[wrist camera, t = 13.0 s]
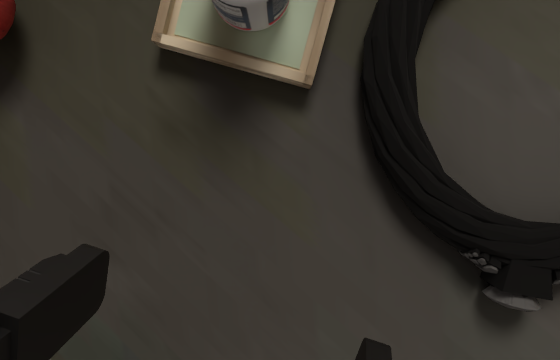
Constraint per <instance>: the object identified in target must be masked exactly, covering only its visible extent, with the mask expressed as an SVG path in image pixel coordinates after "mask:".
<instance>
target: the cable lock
mask: <svg viewBox="0 0 560 360" xmlns="http://www.w3.org/2000/svg"><path fill="white" fill-rule="evenodd" d="M434 1H435V0H379V1H378V2H377V4H376V7H375V10H374V12H373V15H372V18H371V21H370V24H369V27H368V30H367V32H366V35H365V38H364V62H363V69H362V75H361V86H362V94H363V102H364V110H365V118H366V121H367V124H368V127H369V131H370V135H371V139H372V144H373V148H374V152H375V156H376V158H377V159H378V161H379V163H380V165H381V166H382V168H383V170H384V171H385V173H386V175H387V177H388V178H389V180H390V182H391V184H392V185H393V187H394V189H395V191H396V192H397V193H398V194H399V195H400V197H401V198H402V199H403V200H404V202H405V203H406V204H407V206H408V207H409V209H410V210H411V212H412V213H413V214H414V215H415V216H416V217H417V218H418V219H419V220H420V221H421V222H422V223H423V224H424V225H426V226H427V227H428V228H429V229H430V230H431V231H432V232H433V233H434V234H435V235H436V236H438V237H439V238H441V239H442V240H444V241H446V242H447V243H449V244H450V245H452V246H454V247H455V248H457V249H458V251H459V252H460V254H461V255H462V256H464V257H465V256H466V257H467V258H468V259H469V260H471V261H472V262H473V263H475V264H476V265H475V266H477V267H478V268H480V269H481V270H482V273H481V275H480V277H481V278H482V279H484V280H486V281H487V282H489V283H490V286H488V287H487V288H485V289H484V290H482V292H483V293H484V294H485V295H486V296H487V297H488V298H489V299H490V300H492V301H494V302H496V303H498V304H500V305H502V306H504V307H507V308H511V309H516V310H521V311H526V312H531V311H537V310H539V309H541V306H540V304H539V302H538V301H537V299H536V298H541V299H547V300H553V297H552V284H553V285H556V284H560V224H557V223H543V222H530V221H523V220H520V219H516V218H513V217H510V216H507V215H503V214H500V213H497V212H494V211H492V210H490V209H488V208H486V207H485V206H484V205H482V204H481V203H480V202H478V201H477V200H476V199H474V198H473V197H472V196H471V195H470V194H469V193H468V192H466V191H465V190H464V189H463V188H462V187H461V186H459V185H458V184H457V183H456V182H455V181H454V180H453V179H451V178H450V177H449V176H448V175H447V174H446V173H445V172H444V170H443V168H442V166H441V164H440V162H439V160H438V158H437V156H436V154H435V152H434V150H433V148H432V145H431V143H430V141H429V139H428V137H427V135H426V133H425V131H424V129H423V127H422V125H421V123H420V119H419V115H418V102H417V86H416V71H415V57H416V54H417V50H418V47H419V44H420V41H421V38H422V35H423V31H424V28H425V25H426V22H427V19H428V16H429V13H430V11H431V8H432V6H433V3H434Z"/></svg>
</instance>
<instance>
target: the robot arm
mask: <svg viewBox="0 0 560 360" xmlns="http://www.w3.org/2000/svg"><path fill="white" fill-rule="evenodd" d="M108 265H109V252H108V251H106V250H103V249H100V248H97V247H94V246H91V245H87V244H82V245H80V246H79V247H77V248H76V249H75V250H73V251H72V252H70V253H69V254H68V255H64V254H59V255H56V256H53V257H50V258H47V259H44V260H42V261H40V262H39V263H38V264H36V265H35V266H33V267H32V268H30V270H29V271H26V272H24V273H23V274H21V275H20V276H18V279H14V280H13V281H11V282H10V283H8V284H7V285H5V286H4V287H2V288H1V289H0V360H49V359H50V358H51V357H52V356H53V355H54V354H55V353H56V352H57V351H58V350H59V349H60V348H61V347H62V346H63V345H64V344H65V343H66V342H67V341H68V340H69V339H70V338H71V337H72V336H73V335H74V334H75V333H76V332H77V331H78V330H79V329H80V328H81V327H82V326H83V325H84V324H85V323H86V322H87V321H88V320H89V319H90V318H91V317H92V316H93V315H94V314H95V313H96V312H97V310H98V309H99V307H100V305H101V303H102V301H103V298H104V295H105V289H106V281H107V273H108ZM355 360H392V355H391V347H390V346H389V345H386V344H383V343H380V342H377V341H374V340H371V339H368V338H364V339H363V341H362V343H361V346H360V348H359V351H358V354H357V356H356V359H355Z"/></svg>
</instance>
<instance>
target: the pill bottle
mask: <svg viewBox="0 0 560 360" xmlns="http://www.w3.org/2000/svg"><path fill="white" fill-rule="evenodd" d="M212 2H213V4H214V6H215V9H216V10H217V12H218V14H219V15H220V16H221V18H222V19H223V20H224V21H225V22H226V23H228V24H229V25H231V26H232V27H234V28H236V29H239V30H243V31H260V30H263V29H266V28H268V27H270V26H272V25H273V24H275V23H276V22H277V21H278V20H279V19H280V18H281V17H282V16H283V14H284V13H285V11H286V9H287V7H288V4H289V0H212Z"/></svg>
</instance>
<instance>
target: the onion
mask: <svg viewBox="0 0 560 360" xmlns="http://www.w3.org/2000/svg"><path fill="white" fill-rule="evenodd" d="M15 11H16V4H15V1H14V0H0V39H2V38H3V37H4V36H5V35H6V34H7V32H8V31H9V29H10V27H11V26H12V24H13V21H14V16H15Z"/></svg>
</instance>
